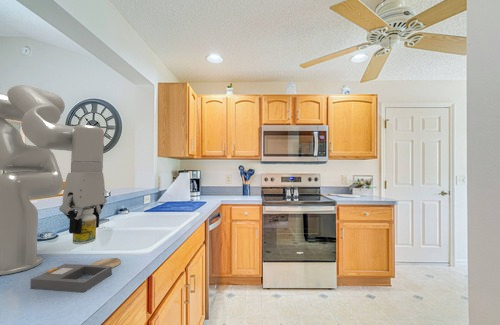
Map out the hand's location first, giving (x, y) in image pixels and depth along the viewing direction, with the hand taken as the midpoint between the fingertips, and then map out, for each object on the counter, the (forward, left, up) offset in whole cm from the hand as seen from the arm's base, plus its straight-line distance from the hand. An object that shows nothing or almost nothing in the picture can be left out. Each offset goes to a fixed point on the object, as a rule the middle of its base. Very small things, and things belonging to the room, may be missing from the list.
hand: (84, 229), depth 65 cm
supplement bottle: (0, 0, -4) cm, 4 cm away
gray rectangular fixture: (-3, 0, -15) cm, 15 cm away
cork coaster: (-2, +11, -15) cm, 19 cm away
